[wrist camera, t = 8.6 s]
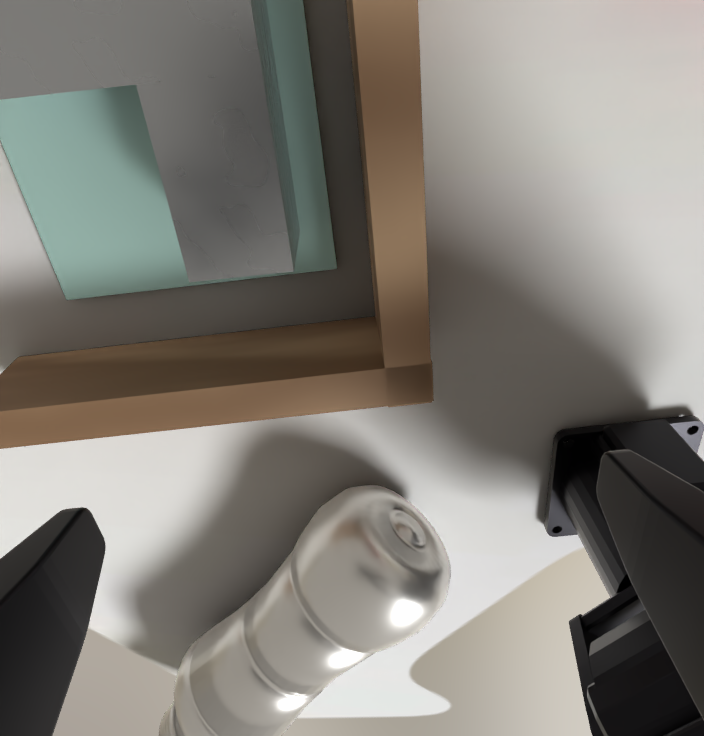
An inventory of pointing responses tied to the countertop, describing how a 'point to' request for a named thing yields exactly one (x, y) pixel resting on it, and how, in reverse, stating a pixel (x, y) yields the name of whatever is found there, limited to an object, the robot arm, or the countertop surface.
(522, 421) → the countertop surface
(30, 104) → the pad
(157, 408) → the wooden corner wall
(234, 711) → the plastic bottle
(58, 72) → the bracket
